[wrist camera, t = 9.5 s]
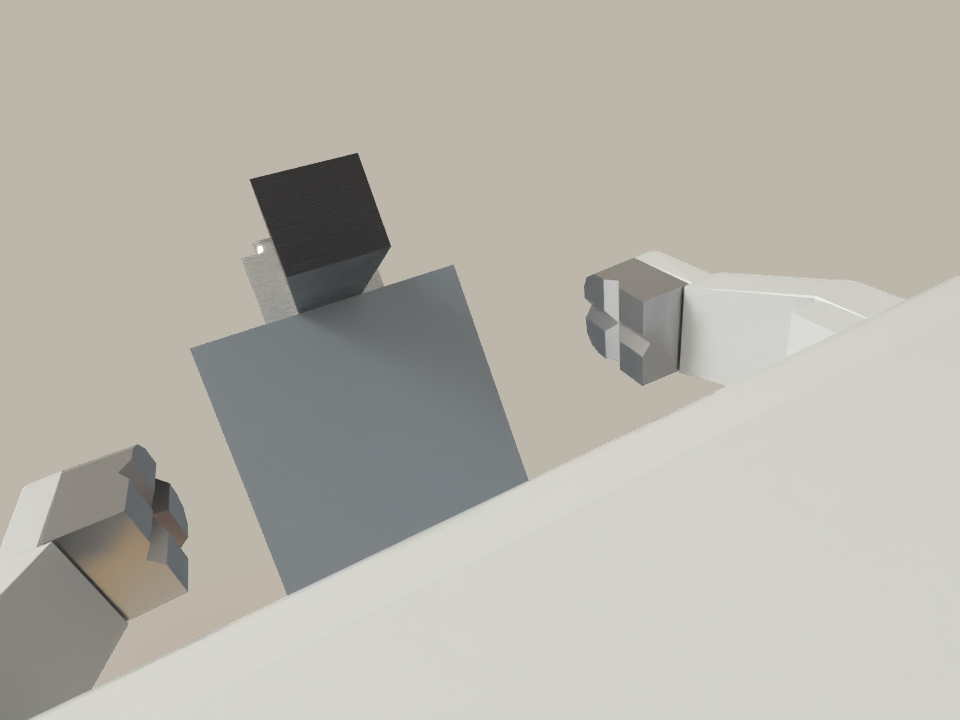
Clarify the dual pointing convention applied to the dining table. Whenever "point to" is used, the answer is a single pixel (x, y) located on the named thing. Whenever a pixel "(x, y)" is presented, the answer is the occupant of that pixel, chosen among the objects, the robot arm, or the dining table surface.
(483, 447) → the stand
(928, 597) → the robot arm
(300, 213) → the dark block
